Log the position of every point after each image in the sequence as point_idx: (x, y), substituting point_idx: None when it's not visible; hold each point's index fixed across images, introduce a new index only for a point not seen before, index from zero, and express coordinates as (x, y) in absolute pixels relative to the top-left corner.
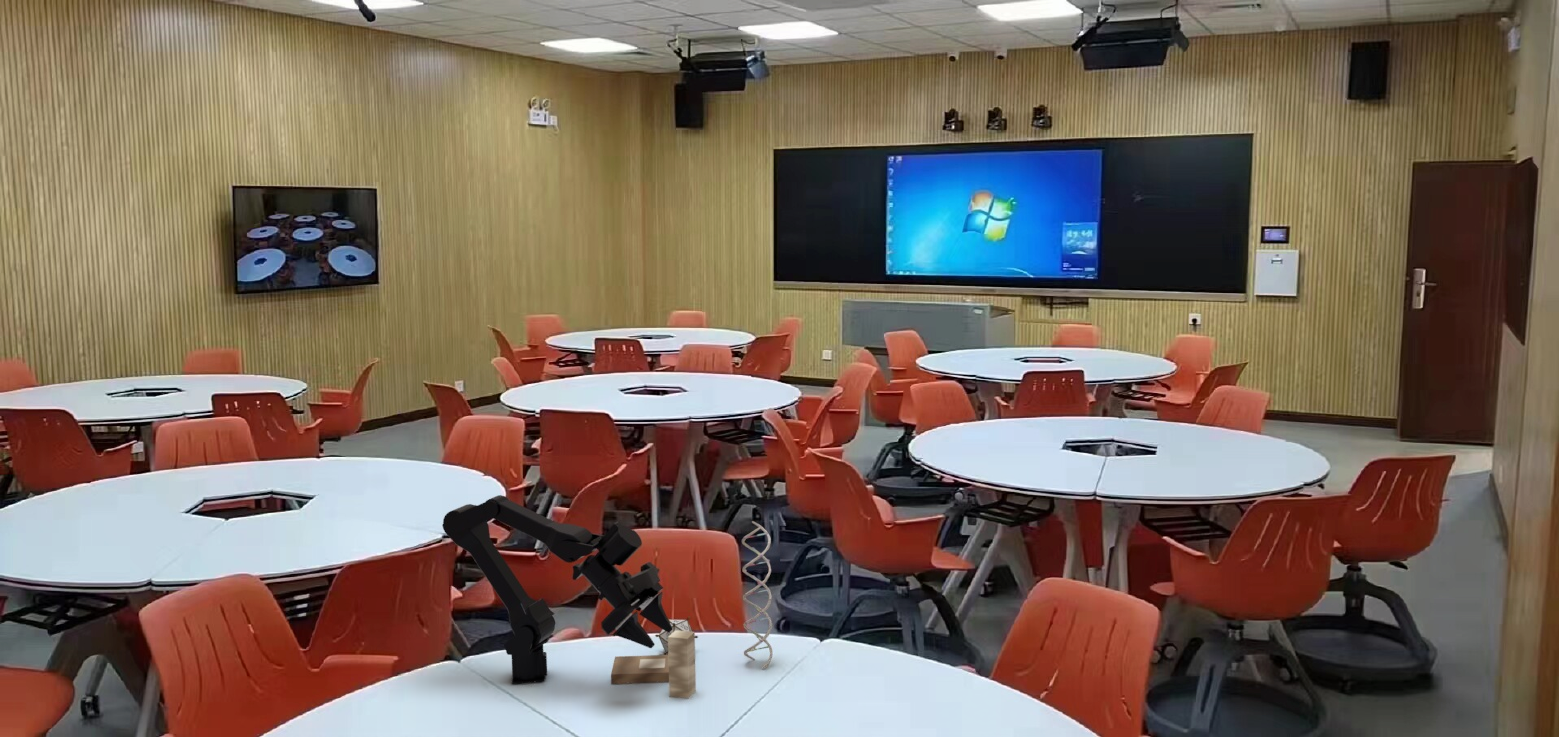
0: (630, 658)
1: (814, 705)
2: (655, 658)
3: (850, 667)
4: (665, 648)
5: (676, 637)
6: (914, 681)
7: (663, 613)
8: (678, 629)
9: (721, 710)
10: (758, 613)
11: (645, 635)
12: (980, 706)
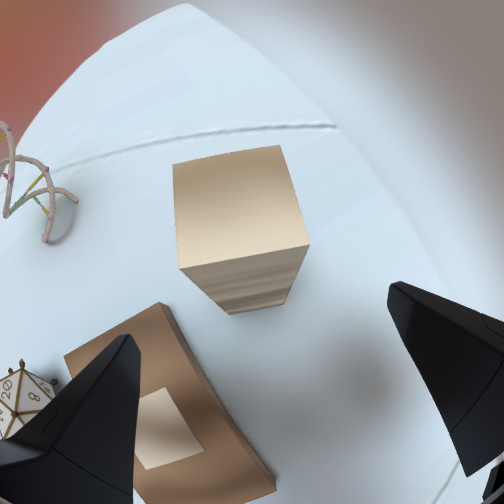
0: (152, 492)
1: (206, 78)
2: None
3: (71, 115)
4: None
5: (291, 196)
6: (111, 61)
7: (70, 402)
8: (19, 401)
9: (293, 162)
10: (8, 134)
11: (457, 305)
12: (164, 22)
